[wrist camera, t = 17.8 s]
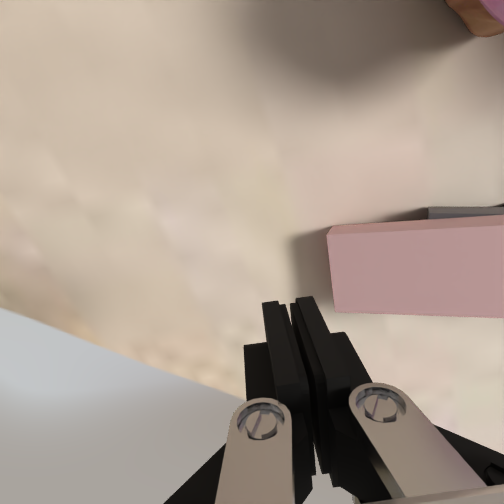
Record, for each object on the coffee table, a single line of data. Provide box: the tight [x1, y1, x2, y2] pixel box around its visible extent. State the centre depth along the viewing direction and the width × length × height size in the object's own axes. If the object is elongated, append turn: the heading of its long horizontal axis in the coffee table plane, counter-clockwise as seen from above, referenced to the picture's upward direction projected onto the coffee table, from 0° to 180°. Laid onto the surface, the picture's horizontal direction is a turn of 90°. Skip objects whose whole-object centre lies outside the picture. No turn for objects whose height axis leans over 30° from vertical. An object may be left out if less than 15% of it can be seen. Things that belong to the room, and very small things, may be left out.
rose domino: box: [326, 215, 504, 318], centre depth 20 cm, size 2×5×10 cm
